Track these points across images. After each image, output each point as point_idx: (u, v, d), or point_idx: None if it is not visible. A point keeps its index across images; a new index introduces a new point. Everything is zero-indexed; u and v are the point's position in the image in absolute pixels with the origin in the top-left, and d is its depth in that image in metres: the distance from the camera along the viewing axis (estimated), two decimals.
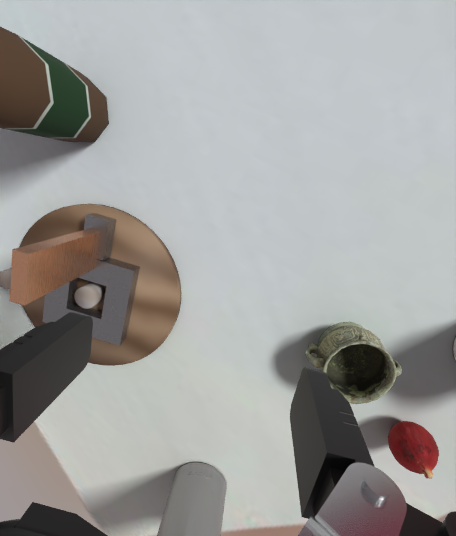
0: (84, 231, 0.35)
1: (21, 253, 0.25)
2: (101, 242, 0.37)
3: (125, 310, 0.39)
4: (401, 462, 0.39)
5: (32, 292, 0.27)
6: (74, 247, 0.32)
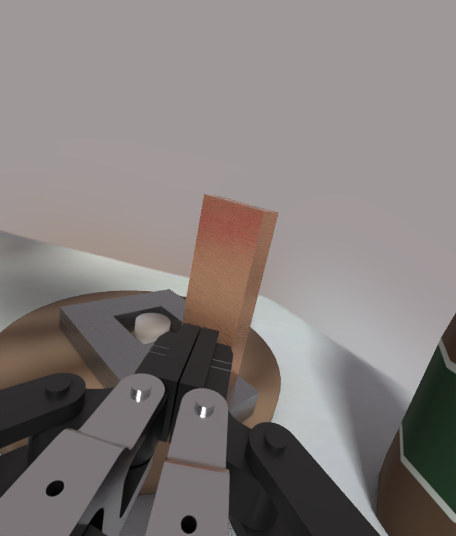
0: (237, 362, 0.20)
1: (268, 211, 0.17)
2: None
3: (87, 338, 0.22)
4: None
5: (212, 210, 0.19)
6: (227, 314, 0.19)
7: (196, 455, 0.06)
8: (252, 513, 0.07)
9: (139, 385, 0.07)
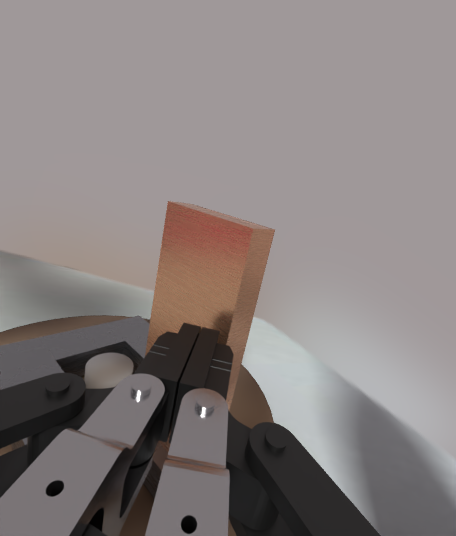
0: None
1: (260, 228, 0.11)
2: None
3: None
4: None
5: (178, 225, 0.13)
6: None
7: (196, 455, 0.06)
8: (252, 513, 0.07)
9: (139, 385, 0.07)
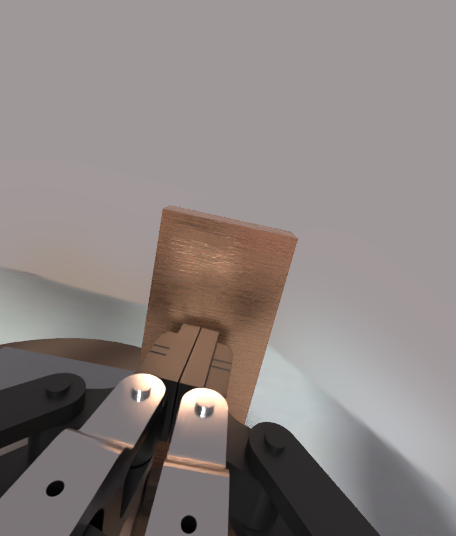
0: None
1: (293, 235, 0.11)
2: None
3: None
4: None
5: (186, 237, 0.11)
6: (233, 385, 0.13)
7: (196, 455, 0.06)
8: (252, 513, 0.07)
9: (139, 385, 0.07)
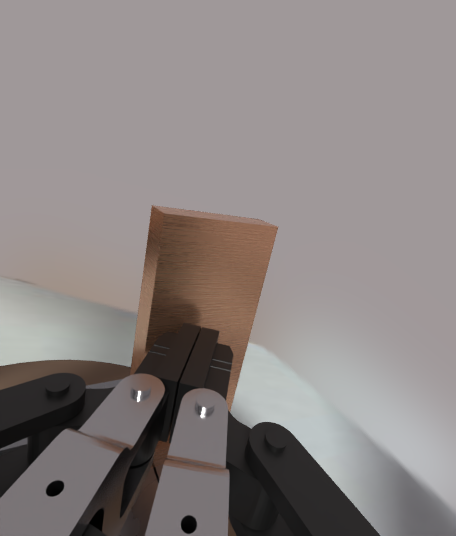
0: None
1: (268, 223, 0.13)
2: None
3: None
4: None
5: (187, 240, 0.11)
6: None
7: (196, 455, 0.06)
8: (252, 513, 0.07)
9: (139, 385, 0.07)
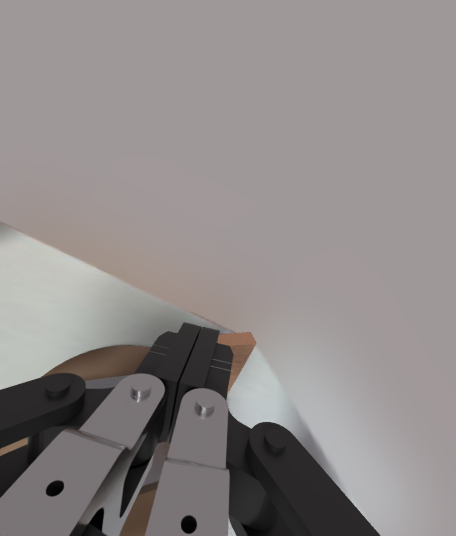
0: None
1: (253, 338, 0.29)
2: None
3: None
4: None
5: None
6: None
7: (196, 455, 0.06)
8: (252, 513, 0.07)
9: (139, 385, 0.07)
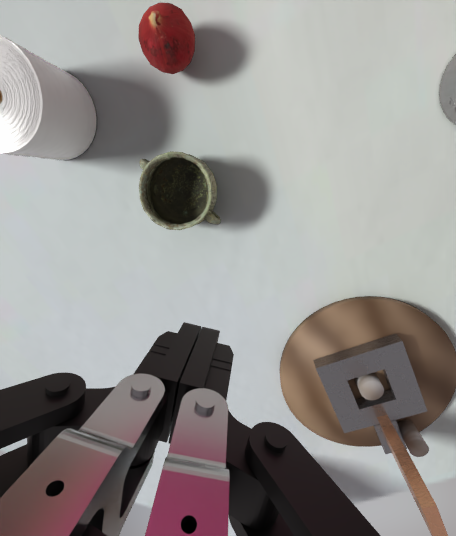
0: None
1: None
2: (383, 437, 0.42)
3: (331, 400, 0.41)
4: (184, 33, 0.29)
5: (420, 506, 0.31)
6: (402, 474, 0.37)
7: (196, 455, 0.06)
8: (252, 513, 0.07)
9: (139, 385, 0.07)
